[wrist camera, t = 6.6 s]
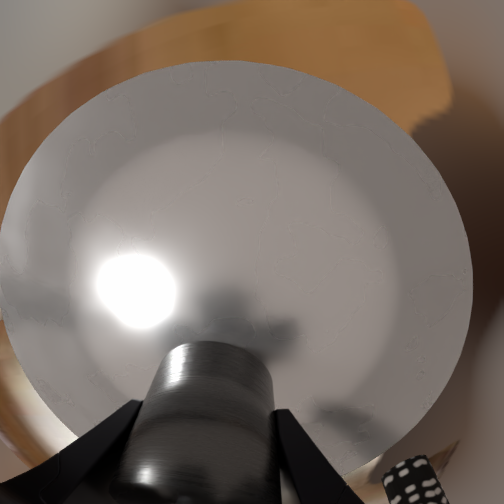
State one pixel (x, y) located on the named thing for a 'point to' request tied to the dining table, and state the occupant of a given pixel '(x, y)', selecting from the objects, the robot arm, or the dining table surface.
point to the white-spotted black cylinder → (413, 483)
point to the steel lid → (233, 276)
